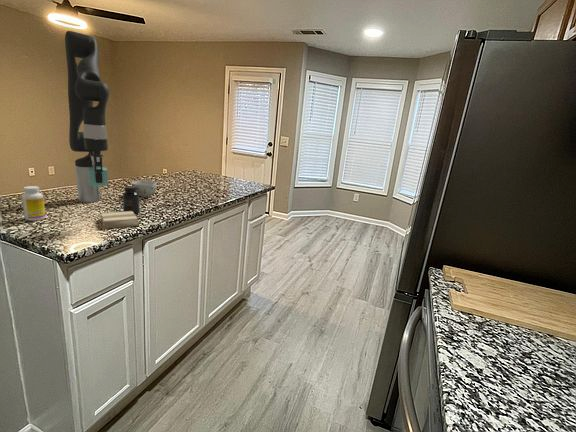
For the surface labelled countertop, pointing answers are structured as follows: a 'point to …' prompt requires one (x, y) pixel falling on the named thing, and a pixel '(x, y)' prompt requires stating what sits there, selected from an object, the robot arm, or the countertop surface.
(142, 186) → the teacup
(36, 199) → the supplement bottle
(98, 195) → the robot arm
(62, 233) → the countertop surface
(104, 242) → the countertop surface
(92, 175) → the teal cube
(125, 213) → the birch pedestal
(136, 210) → the supplement bottle
